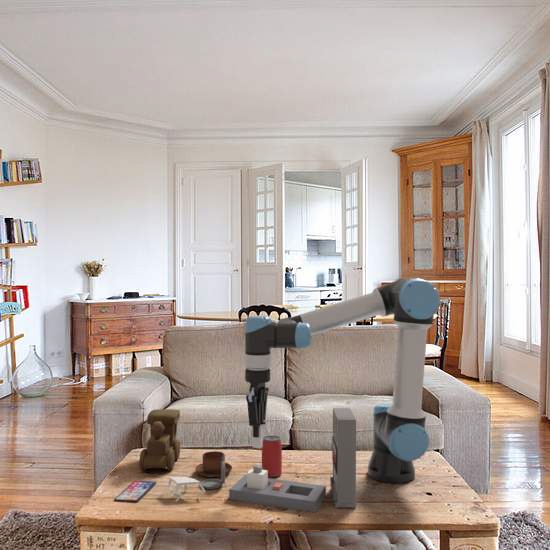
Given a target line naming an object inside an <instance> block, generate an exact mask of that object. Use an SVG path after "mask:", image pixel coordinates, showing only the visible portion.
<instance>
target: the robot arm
mask: <svg viewBox="0 0 550 550" xmlns="http://www.w3.org/2000/svg"><path fill="white" fill-rule="evenodd" d="M440 304H441V298H440V292H439V290H438V289H437V288H436V286H435V285H434V284H433V283H431V282H430V281H428V280H425V279H423V278H419V277H417V278H410V277H404V278H399V279H396V280H393V281H392V282H389V283H387V284H384V285H382V286H378V287H375V288H373V290H372V292H370V293H366V294H363V295H360V296H356V297H353V298H350V299H347V300H344V301H341V302H340V301H339V302H337V303H333V304H330V305H326V306H323V307H320V308H317V309H313V310H311V311H307V312H304V313H300V314H298V315H294V316H291V317H284V318H281V319H279V320H278V321H277V322H272V320H271V319H272V318H271V317H270V316H269V315H268V316H267V315H250V316H248V317H247V318H246V319H245V328H244V330H245V331H244V332H245V334H244V336H245V337H244V339H245V340H244V341H245V342H244V343H245V345H244V346H245V349H244V351H245V356H244V357H243V359H244V362H245V365H244V366H245V370H244V381H245V382H247V383H249V394H247V395H245V400H246V403H247V413H248V425H249V427H251V428H252V429H251V432H252V435H251V437H252V438H251V439H252V440H251V441H252V443H251V445H252V446H251V447H252V448H255V449H262V447H263V438H264V437H263V436H264V435H263V434H264V431H263V428H264V427H263V425H266V424H267V422H266V417H267V403H268V394H269V387H266V383H269V382H271V369H270V367H271V365H272V364H271V358H272V357H271V356H272V355H271V349H297V350H298V349H305V348H306V349H307V348H309V347H310V346H311V341H312V336H313V335H317V334H320V333H324V332H327V331H331V330H334V329H338V328H340V327H343V326H347V325H351V324H353V323H357V322H360V321H364V320H366V319H370V318H373V317H376V316H381V317H383V318H384V317H387V316H390V315H393V323H394V324H395V325H396V326H397V341H396V351H395V352H396V353H395V365H394V379H393V380H394V381H393V392H392V402H391V403H380V404H376V405H375V406H374V408H373V413H372V416H373V433H372V434H373V446H372V447H373V448H372V449H373V450H372V454H371V456H370V458H369V462H368V464H367V474H368V476H369V477H370V478H372V479H374V480H376V481H380V482H384V483H391V484H402V483H408V482H410V481H413V480H414V479H415V478H416V470H415V466H414V462H413V461H417V460H419V459H420V458H421V457H423V456H424V455H425V453H427V451H428V449H429V446H430V436H429V434H428V431H427V430H426V419H427V418H426V417H427V414H426V413H425V412H424V410H423V409H422V405H423V404H422V403H423V401H422V400H423V388H424V378H425V377H424V376H425V375H424V374H425V363H426V352H427V351H426V349H427V338H428V337H427V336H428V335H427V334H428V330H429V329H430V328H431V327H432V326H434V316H435V314H436V313H437V312H438V309H439V308H440Z"/></svg>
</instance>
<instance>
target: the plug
mask: <svg viewBox="0 0 550 550" xmlns="http://www.w3.org/2000/svg"><path fill="white" fill-rule="evenodd" d="M246 475H247V488H255V489H262V490H265V489H266V488H267V487H268V478H269V477H268V470H262V464H261V465H260V464H255V465H253V467H252V468H251V469H250V470H248V471H247V473H246Z"/></svg>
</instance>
